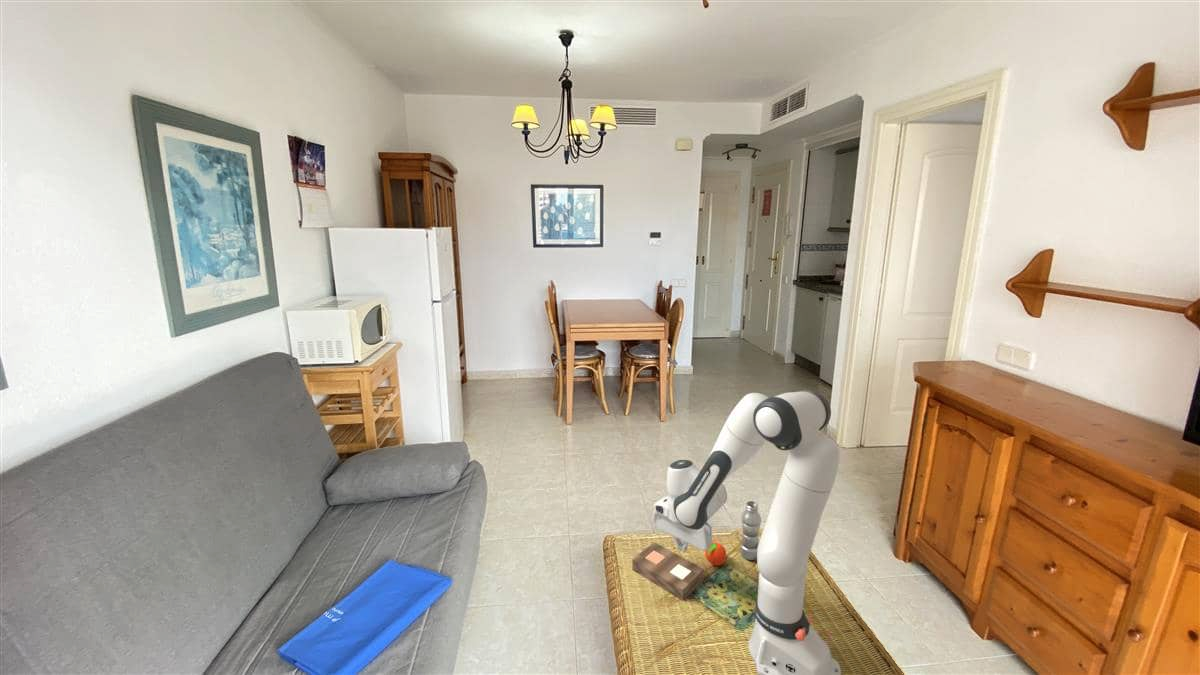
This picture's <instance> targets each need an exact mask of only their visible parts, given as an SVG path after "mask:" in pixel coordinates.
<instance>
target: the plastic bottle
mask: <svg viewBox="0 0 1200 675" xmlns="http://www.w3.org/2000/svg"><path fill="white" fill-rule="evenodd" d="M758 508H759V507H758V503H757V502H755V501H752V500H751V501H749V500H748V501H747V502H746V505H745V510H743V512H742V515H741V525H742V536H741V542H740V545H739V546H740V547H739V551H740V555H741V556H742V557H743V559H744V560H745V559H746V560H747V561H754V560H757V548H758V545H759V541H760V539H759V534H760V528H761V524H762V518H761V515H760V513H759V511H758V510H759V509H758Z"/></svg>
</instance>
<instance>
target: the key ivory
mask: <svg viewBox="0 0 1200 675" xmlns="http://www.w3.org/2000/svg"><path fill="white" fill-rule="evenodd" d="M669 573H671V574H672V575H674V576H676V577H678V578H679V579H681V580H684V579H685V578H686V577H687V576H688V575H689V574H690V573H691V571H690V570H689V569H687V568H685V567H683V566H681V565H680V564H678V565H677V566H676V567H674V568H673V569H672V570H671V571H670V572H669Z"/></svg>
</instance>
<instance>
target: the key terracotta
mask: <svg viewBox="0 0 1200 675" xmlns="http://www.w3.org/2000/svg"><path fill="white" fill-rule="evenodd" d="M665 558H666V557H665V556H663V555H662V554H660V553H658V552H656V551H655V550H654V551H652V552H651V553H650V554H649V555H647V556H646V557H645V559H647V560H648V561H650V562H652V563H654V564H655V565H658V564H659V563H661V562H662V561H663V560H664V559H665Z"/></svg>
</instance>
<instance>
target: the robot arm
mask: <svg viewBox="0 0 1200 675" xmlns="http://www.w3.org/2000/svg"><path fill="white" fill-rule="evenodd" d="M831 416H832V409H831V405H830V402H829V401H828V400H827V399H826V397H824V395H823V394H820V393H819V392H816V391H814V390H813V391H812V390H805V389H804V390H799V391H793V392H792V391H791V392H784V393H781V394H778V395H775V396H771V397H769V396H767V395H765V394H762V393H759V392H750V393H748V394H747V393H746V394H745V395H744V396H743V397H742V398H741V399H740V400H739V402H738V403H737V404H736V405H735V407H734V408H733V409H732V411H731V412H730V414H729V415H728V417H727V419H726V420H725V422H724V424H723V426H722V428H721V429H720V430H721V431H720V432H719V435H718V436H717V439H716V442H715V443H714V445H713V447H712V449H711V451H710V453H709V455H708V458H707V459H706V461H705V463H704V465H703V466H702V468H701V469H699V467H697V466H696V464H695V463H694V462H693V461H691V460H689V459H678V460H675V461H673V462H672V463H670V464H669V466H668V468H667V472H666V491H667V495H666V496H663V497H662V498H660V499H659V500H658V501H656V502H655V503H654V504H653V511H652V525H653V527H654V528H655V529H658V530H659V531H661V532H664V533H666V534H667V535H670V536H672V539H673V541H674V543H675V546H676V550H678V551H680V552H682V553H686V552H687V551H688V546H689V545H691V546H692V547H695V548H697V549H699V550H700V551H702V552H705V551H707V550H708V549H710V548H711V546H712V544H713V543H714V542H713V532H712V526H711V524H709V522H708V521H709V520H710V519H711V518H712V517H713V516H714V515H716V513H717V512H718V511H719V510H720V509H721V508H722V507H723V505H725V504H726V503H727V500H728V494H727V490H726V487H725V486H724V482H725V481H726V480H727V479H728V478H729V477H730V476H731V475H732V474H734V473H735V472H736V471H738V470H739V469H740V468H742V467H743V466H745V464H747V463H748V462H749V461H750V460H751V459H753V457H755V455H756V454H757V453H758V452H759V451H760V450H761V448H762V447H763V445H764V444H765V442H766V441H767V442H769V443H770V444H772V445H774V446H775V447H776V448H777V449H778V450H781V451H788V455H787V459H786V461H785V465H784V468H783V471H782V473H781V476H780V478H779V482H778V485H777V487H776V491H775V494H774V496H773V500H772V503H771V506H770V509H769V512H768V515H767V517H766V519H765V522H764V525H763V529H762V531H761V532H762V533H761V536H760V539H759V545H758V548H757V559H756V561H757V562H756V563H757V568H758V571H759V572H758V584H757V585H758V586H757V597H756V599H755V605H754V618H755V620H754V621H755V622H754V625H753V626H754V627H753V630H752V633H751V635H750V637H749V639H748V643H747V644H748V645H747V646H748V652H749V654H750V655H751V658H752V660H753V661H754V663H755V669H756V673H757V674H758V675H842V671H841V666H840V663H839V662H838V661H837V660H836V659H834V658H833V657H832V652H831V649H830V646H829V645H828V644H827V643H826V641H825V640H823V639H822V637H821V636H820V635H819V633H818V631H817V630H816V629H814V628H813V627H812V626H811V623H812V621H813V620H812V618H813V616H812V615H810V616H809V618H807V617H806V616H807V615H806V613H805V611H804V599H805V587H806V578H807V570H808V568H807V567H808V561H809V558H810V554H811V550H812V547H813V544H814V541H815V538H816V535H817V532H818V528H819V525H820V522H821V518H822V516H823V513H824V510H825V507H826V505H827V503H828V500H829V497H830V494H831V492H832V489H833V487H834V483H835V480H836V477H837V474H838V473H837V472H838V470H839V463H840V457H841V456H840V454H841V453H840V449H839V446H838V445H837V443H835V441H834V440H833V439H831V438H830V437H828V436H826V435H824V434H823V433H822V432H821V430H822V429H824V428H825V427H827V424H828V423H829V421H830V420H831Z"/></svg>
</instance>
